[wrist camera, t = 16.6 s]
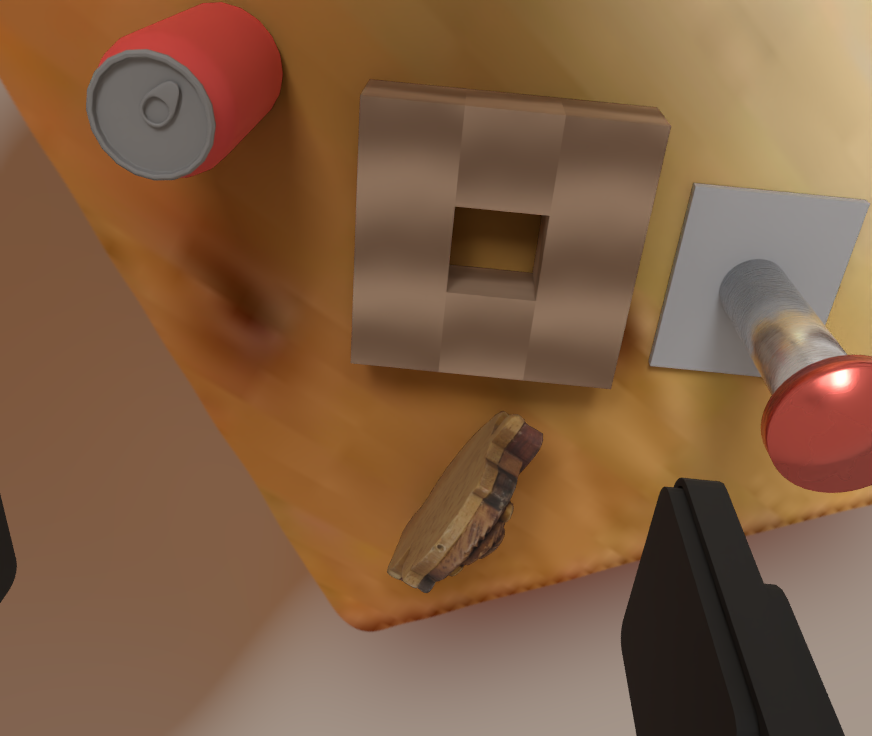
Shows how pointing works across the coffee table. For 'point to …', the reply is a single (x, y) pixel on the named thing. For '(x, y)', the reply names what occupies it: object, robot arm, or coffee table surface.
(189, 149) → the beer can
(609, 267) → the eye block
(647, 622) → the robot arm
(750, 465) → the coffee table surface
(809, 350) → the peg
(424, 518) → the wooden carving
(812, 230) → the mat
